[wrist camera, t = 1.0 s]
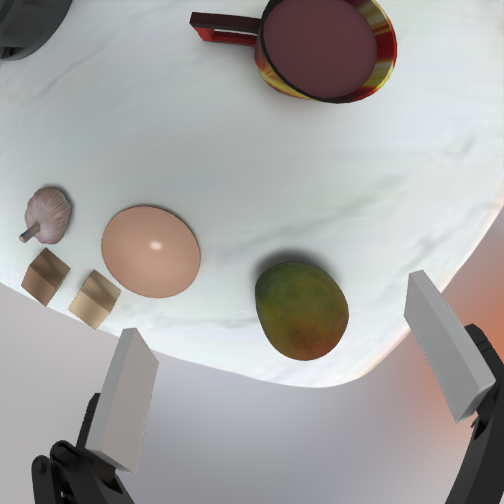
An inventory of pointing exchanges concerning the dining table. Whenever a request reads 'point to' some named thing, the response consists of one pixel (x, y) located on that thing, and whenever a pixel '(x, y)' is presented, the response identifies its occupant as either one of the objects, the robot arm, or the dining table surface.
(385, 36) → the mug
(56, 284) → the walnut block
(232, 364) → the dining table surface
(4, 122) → the dining table surface
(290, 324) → the fruit
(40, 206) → the garlic bulb
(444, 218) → the dining table surface
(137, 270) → the peach ellipsoid
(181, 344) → the dining table surface
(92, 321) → the oak block
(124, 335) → the robot arm
